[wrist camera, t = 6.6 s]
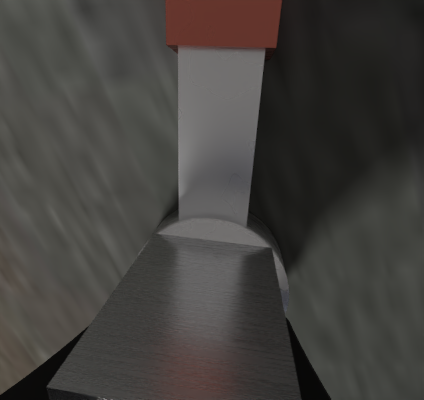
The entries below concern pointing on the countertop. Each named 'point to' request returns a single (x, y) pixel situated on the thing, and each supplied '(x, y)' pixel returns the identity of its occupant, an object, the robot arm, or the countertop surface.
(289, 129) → the countertop surface
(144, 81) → the countertop surface
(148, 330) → the grey block
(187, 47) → the ratchet
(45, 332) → the countertop surface
